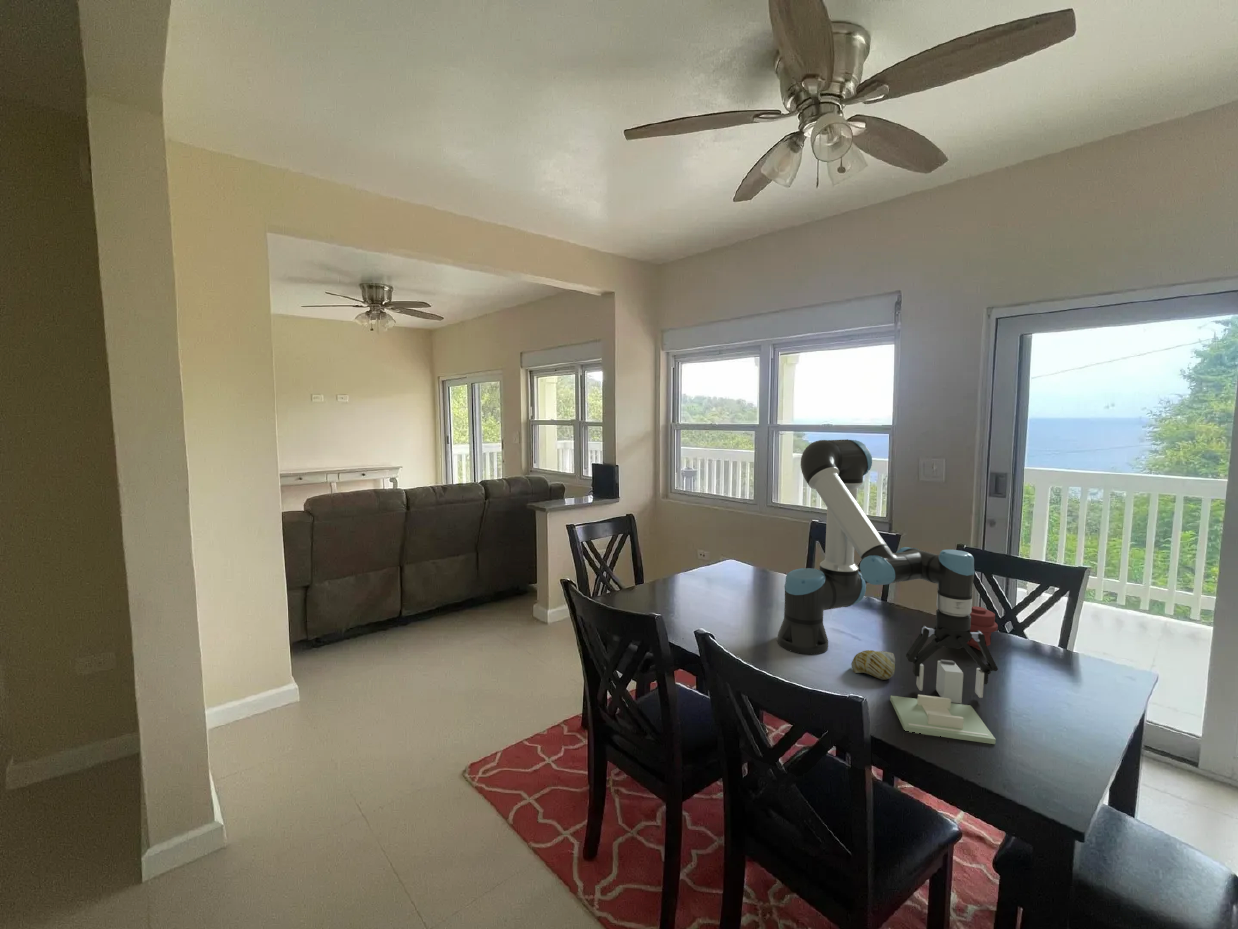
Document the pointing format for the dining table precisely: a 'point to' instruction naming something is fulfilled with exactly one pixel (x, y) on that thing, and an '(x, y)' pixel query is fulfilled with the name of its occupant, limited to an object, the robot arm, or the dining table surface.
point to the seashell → (874, 664)
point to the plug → (949, 680)
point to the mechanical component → (982, 625)
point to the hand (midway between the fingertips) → (948, 691)
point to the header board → (941, 718)
